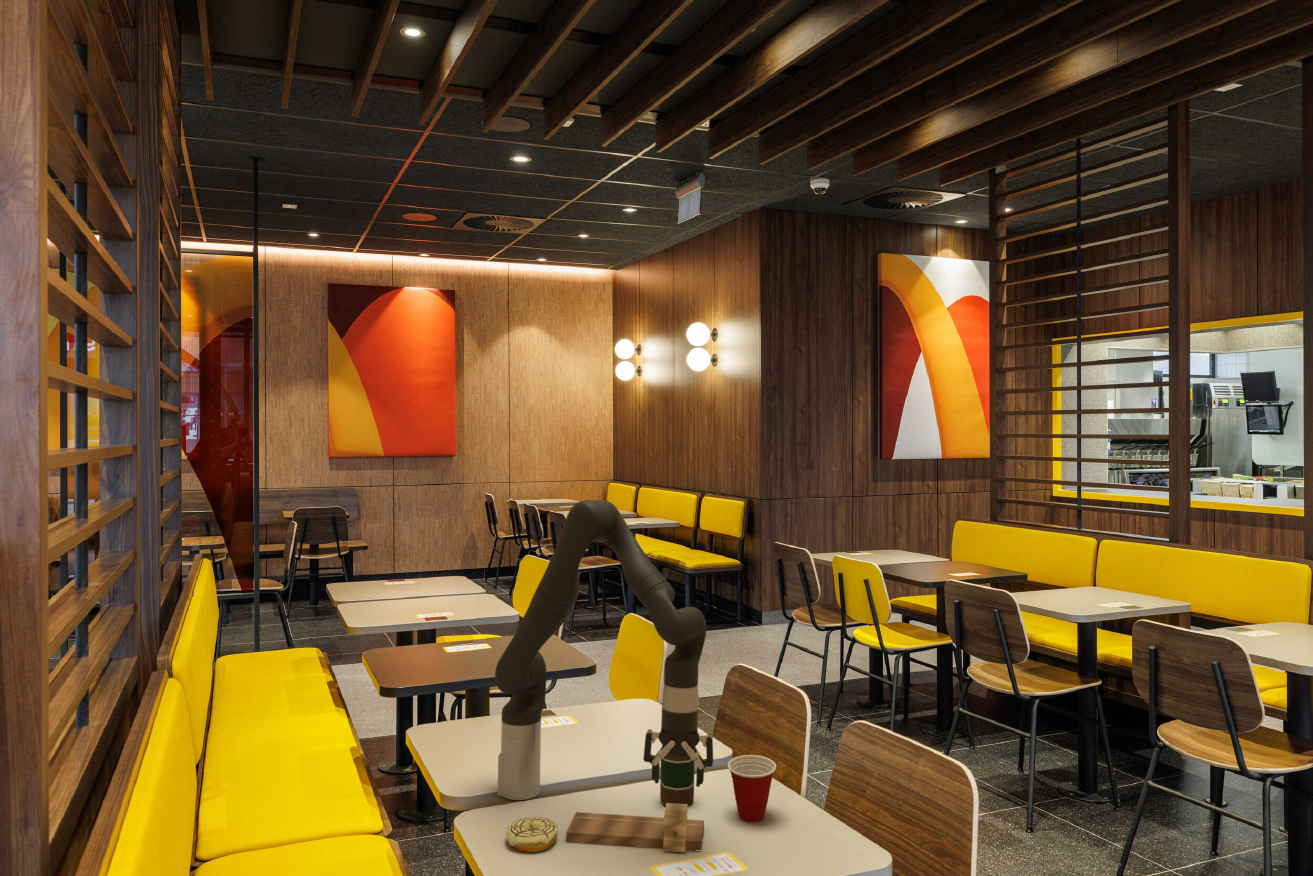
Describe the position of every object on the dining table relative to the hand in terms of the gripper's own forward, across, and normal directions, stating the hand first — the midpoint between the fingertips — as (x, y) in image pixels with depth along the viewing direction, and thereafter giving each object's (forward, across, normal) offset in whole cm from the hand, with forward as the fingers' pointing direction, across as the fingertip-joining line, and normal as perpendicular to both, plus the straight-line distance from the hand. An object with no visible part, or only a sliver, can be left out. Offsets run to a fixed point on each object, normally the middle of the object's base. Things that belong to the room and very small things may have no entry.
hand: (677, 783), depth 183 cm
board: (+13, -9, +3) cm, 16 cm away
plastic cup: (+13, +15, +16) cm, 26 cm away
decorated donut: (+14, -30, -3) cm, 33 cm away
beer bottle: (+13, -2, +21) cm, 25 cm away
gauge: (+13, 0, +1) cm, 13 cm away
